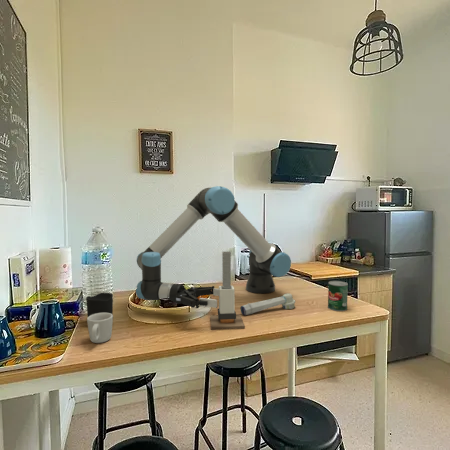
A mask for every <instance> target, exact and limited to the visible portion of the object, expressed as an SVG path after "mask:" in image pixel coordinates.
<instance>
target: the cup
mask: <svg viewBox="0 0 450 450" xmlns="http://www.w3.org/2000/svg"><path fill="white" fill-rule="evenodd" d="M113 319H114V314H113V315H112V314H111V313H96V314H93V315H90V316H89V317H88V316H87V318H86V323H87V329H88V334H89V335H88V336H89V339H90V341H91V342H92V343H94V344H95V343H96V344H102V343H106V342H108V341H109V340H110V339H111V338H112V332H113V321H114V320H113Z"/></svg>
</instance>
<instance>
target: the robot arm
mask: <svg viewBox="0 0 450 450" xmlns="http://www.w3.org/2000/svg"><path fill="white" fill-rule="evenodd" d="M186 207H187V208H186V209H184V211H183V212H181V214H180V215H179V216H178V217H177V218H176V219H175V220H174V221H172V223H171V224H170V225H169V226H168V227H167V228H166V229H165V230H164V231H163V232H162V233H161V234H160V235H159V236H158V237H157V238H156V239H155V240H154V241H152V243H151V244H150V245H149V246H148V247H147V248H146V249H145V250H144V251H142V252H140V253H139V254H137V256H136V263H137V267H138V268H139V269H140V270H141V280H140V281H139V282H138V283H137V285H136V289H135V294H136V297H137V298H139V299H141V300H146V301H152V300H159V299H160V298H168V297H169V298H170V300H171V301H173V302H176V303H175V304H182V305H185V306H187V307H190V308H195V309H199V308H200V307H206V308H207V307H208V308H213V309H216V308H217V309H218V299H213V298H203V296H210V295H213V296H216V297H219V288H215V285H212V286H197V287H196V286H191V287H190V288H187V289H186V287H185V285H184V284H182V283H172V282H162V268H161V267H162V258H163V257H164V256H165V255H166V254H167V253H168V252H169V250H171V249H172V248H173V247H174V246H175V244H176V243H177V242H179V241H180V240H181V238H182V237H184V236H185V234H186V233H187V232H188V231H189V230H190V229H192V227H193V226H194V225H195V224H196V223H197V222H198V221H199V220H203V219H204V218H205V217H206V216H208V215H209V214H211V215H212V217H214V218H215V220H216V221H217V222H219V223H224V224H225V225H226V226H227V227H228V228H229V229H230V231H232V233H234V235H235V236H236V237H238V239H239V240H240V241H241V242H242V243H243V244H244V245H245V246H246V247H247V248H248V249H249V253H248V254H249V255H248V256H249V257H248V258H249V261H248V263H249V264H248V265H249V266H248V267H249V268H248V271H249V273H248V274H249V275H248V279H247V281H246V284H245V290H246V291H247V292H249V293H253V294H269V293H270V294H271V293H273V292H275V291H276V284H275V281H274V278H273V277H278V278H281V277H284V276H286V275H287V274H288V273H289V271H290V270H291V264H292V260H291V256H290V255H289V254H288V253H286V252H283V251H281V250H280V249H279V248H278V247H277V246H276V245H275V244H274V243H270V242H269V241H268V240H267V239H266V238H265V236H263V235H262V233H260V232H259V231H258V229H257V228H256V227H255V226H254V225H253V223H251V221H250V220H249V219H247V217H246V216H245V215H244V213H242V212H241V211H240V210H239V209H238V208H239V204H238V202H237V201H236V200H235V195H234V193H233V192H232V191H231V190H230V188H229V189H228V188H227V187H224V186H218V185H215V186H212V187H211V186H210V187H206V188H204V189H201V190H200V191H198V193H197V194H196V195H195V196H194V197H193V198H192V199H191V200H190V202H189V203H187V204H186Z"/></svg>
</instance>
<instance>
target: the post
mask: <svg viewBox="0 0 450 450" xmlns="http://www.w3.org/2000/svg"><path fill="white" fill-rule="evenodd" d="M221 253H222V254H221V255H222V264H221V265H222V266H221V267H222V271H221V272H222V276H221V277H222V286H223V289H231V286H232V284H231V283H232V282H231V281H232V280H231V279H232V278H231V276H232V275H231V274H232V273H231V271H232V270H231V267H232V264H231V259H232V258H231V251H222V252H221ZM220 321H221V323H234V319H223V320H220Z"/></svg>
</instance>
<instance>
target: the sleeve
mask: <svg viewBox="0 0 450 450" xmlns="http://www.w3.org/2000/svg"><path fill="white" fill-rule="evenodd" d="M218 289H219V296H218V308H219V311H220V314H228V313H235V312H236V308H235V307H236V306H235V304H236V303H235V299H236V298H235V297H236V296H235V295H236V294H235V293H236V292H235V291H236V290H235V287H234V285H231V289H223V285H218Z"/></svg>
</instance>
